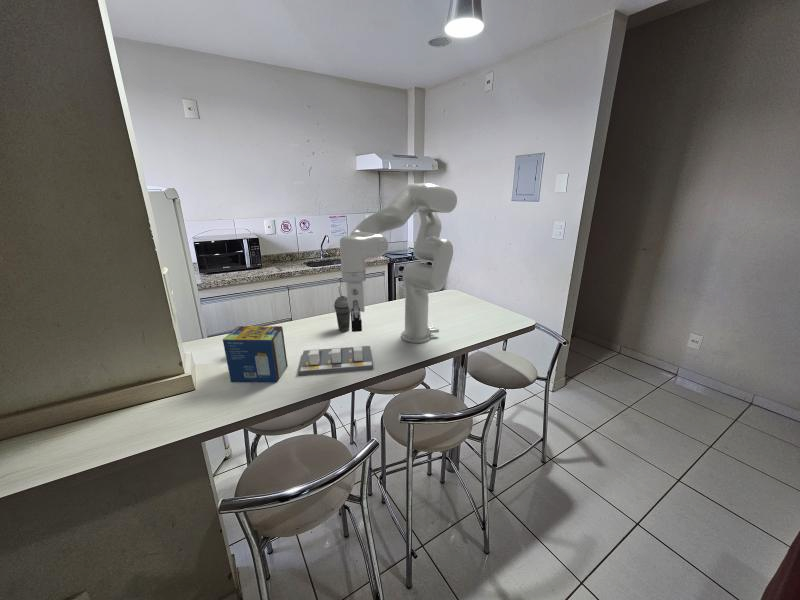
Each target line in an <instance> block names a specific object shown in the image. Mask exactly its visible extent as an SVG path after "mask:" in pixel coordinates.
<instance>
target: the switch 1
mask: <svg viewBox="0 0 800 600" xmlns="http://www.w3.org/2000/svg"><path fill="white" fill-rule="evenodd" d="M310 350H311V351H310V353H309V359H310V365H317V364H319V361H320V358H319V349H310Z"/></svg>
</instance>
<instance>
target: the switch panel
mask: <svg viewBox="0 0 800 600" xmlns="http://www.w3.org/2000/svg"><path fill="white" fill-rule="evenodd" d="M353 347H354V346H350V347H346V346H345V347H340V348H341V363H332V349H338V348H339V347H333V348H322V349H321V348H320V349H318V350H319V358H320V361H319V364H317V365H310V359H309V353H310V351H311V350H312V349H308V350H307V349H305V350H303V352H302V357H301V361H300V365H299V370H298V376H308V375H322V374H331V373H333V374H334V373H343V372H355V371H356V372H357V371H367V370H368V371H369V370H374V362H373V355H372V349H371V345H364V346H363V345H361V346H358V347H362V356H363V361H354V350H353Z"/></svg>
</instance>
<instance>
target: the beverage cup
mask: <svg viewBox="0 0 800 600" xmlns="http://www.w3.org/2000/svg"><path fill="white" fill-rule="evenodd" d="M338 293H339V296H338V297H337V298H336V299H335V300H334V304H333V306H334V311H335V314H336V321H337V327H338V331H339V332H341V333H346V332H349V331H350V326H351V322H350V321H351V313H350V312H349V306H348V300H347V296H344V295H342V294H341V288H340V286H338Z"/></svg>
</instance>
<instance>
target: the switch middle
mask: <svg viewBox="0 0 800 600" xmlns="http://www.w3.org/2000/svg"><path fill="white" fill-rule="evenodd" d="M337 348H338V349H332V348H331V349H332V363H341V348H342V347H337Z"/></svg>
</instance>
